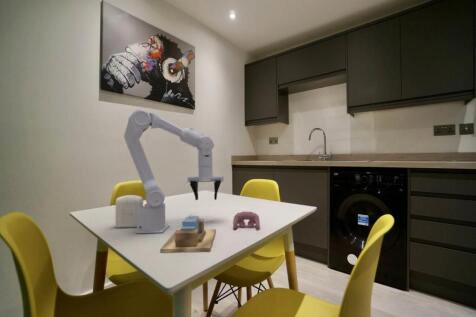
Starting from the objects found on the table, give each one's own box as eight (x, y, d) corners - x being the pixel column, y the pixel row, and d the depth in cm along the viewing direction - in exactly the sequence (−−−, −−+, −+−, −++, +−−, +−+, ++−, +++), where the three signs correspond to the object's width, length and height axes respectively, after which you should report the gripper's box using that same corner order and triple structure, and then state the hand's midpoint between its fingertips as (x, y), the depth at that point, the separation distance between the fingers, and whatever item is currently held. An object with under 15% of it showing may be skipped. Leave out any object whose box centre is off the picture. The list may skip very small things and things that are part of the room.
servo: (181, 244, 64) (180, 219, 64) (188, 232, 74) (188, 211, 74) (194, 243, 64) (193, 219, 64) (200, 232, 74) (200, 211, 74)
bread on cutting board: (160, 252, 61) (159, 234, 61) (176, 232, 77) (176, 218, 77) (210, 251, 61) (209, 233, 61) (215, 232, 77) (215, 217, 77)
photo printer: (145, 224, 88) (144, 193, 88) (141, 227, 84) (140, 195, 84) (119, 225, 87) (118, 194, 87) (113, 228, 83) (113, 196, 83)
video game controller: (259, 231, 81) (259, 212, 84) (259, 229, 77) (259, 209, 80) (233, 231, 82) (234, 212, 85) (232, 229, 78) (232, 209, 81)
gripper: (185, 167, 84) (186, 201, 84) (222, 166, 85) (223, 200, 85) (189, 166, 92) (190, 198, 92) (223, 165, 92) (224, 197, 92)
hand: (206, 199), depth 89 cm, fingers open, 7 cm apart
